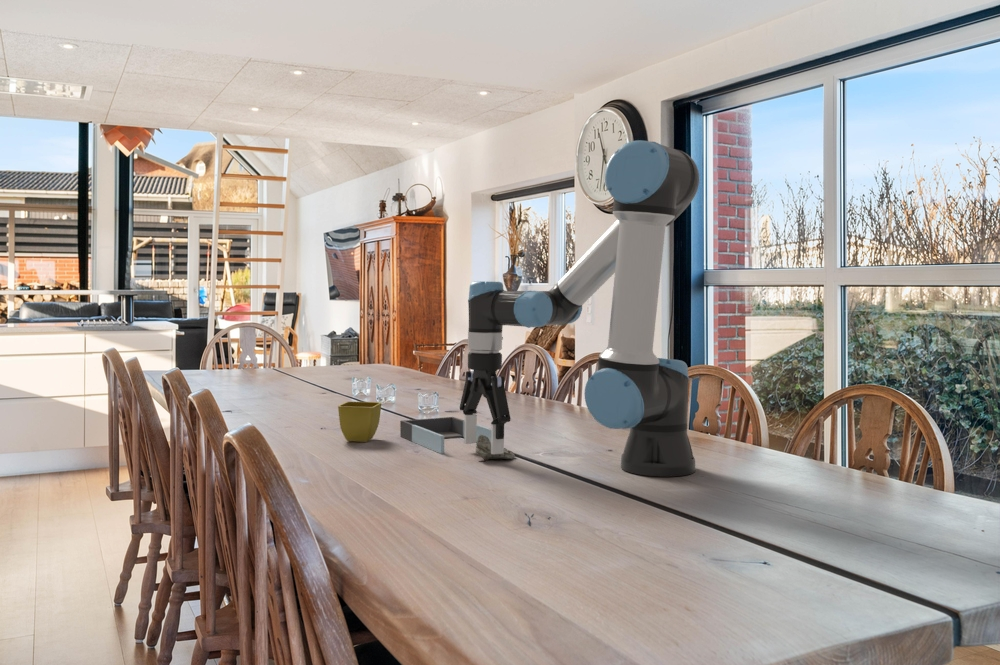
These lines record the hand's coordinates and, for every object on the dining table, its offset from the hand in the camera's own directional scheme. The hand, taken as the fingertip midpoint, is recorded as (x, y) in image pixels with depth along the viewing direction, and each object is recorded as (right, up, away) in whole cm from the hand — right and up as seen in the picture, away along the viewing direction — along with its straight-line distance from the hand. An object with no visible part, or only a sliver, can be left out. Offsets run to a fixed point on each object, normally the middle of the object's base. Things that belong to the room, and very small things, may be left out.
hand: (483, 448), depth 182 cm
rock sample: (+3, -2, -1) cm, 4 cm away
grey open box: (-13, -1, +25) cm, 28 cm away
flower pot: (-31, -1, +19) cm, 36 cm away
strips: (-7, -1, +14) cm, 16 cm away
